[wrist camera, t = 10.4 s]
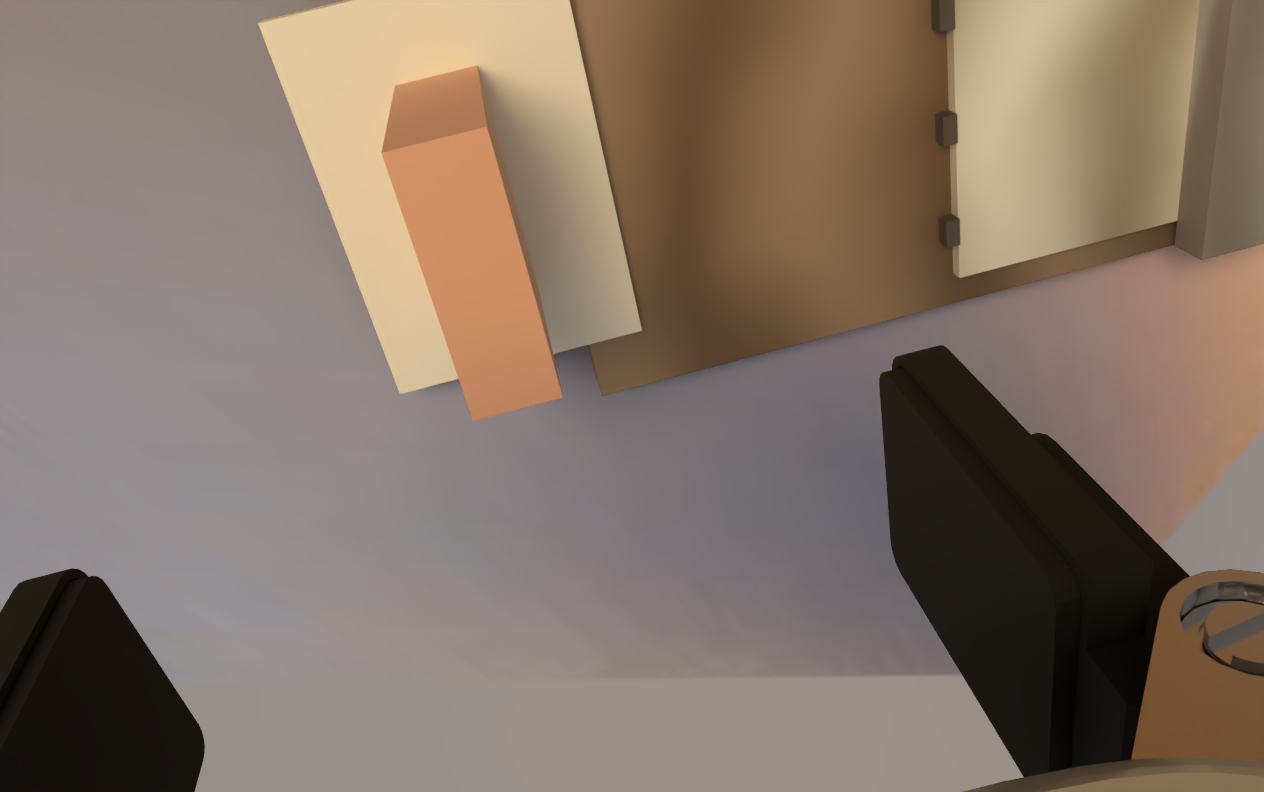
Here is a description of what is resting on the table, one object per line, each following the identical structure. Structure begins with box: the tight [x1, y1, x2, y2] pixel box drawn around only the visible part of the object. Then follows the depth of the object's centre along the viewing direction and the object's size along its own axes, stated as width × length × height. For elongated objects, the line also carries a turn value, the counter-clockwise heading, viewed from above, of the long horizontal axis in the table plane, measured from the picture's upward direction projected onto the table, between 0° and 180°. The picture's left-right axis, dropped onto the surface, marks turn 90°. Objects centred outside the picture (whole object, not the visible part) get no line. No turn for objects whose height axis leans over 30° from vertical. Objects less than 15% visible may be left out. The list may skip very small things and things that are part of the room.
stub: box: [258, 0, 642, 421], centre depth 22 cm, size 7×10×6 cm
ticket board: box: [569, 0, 1264, 396], centre depth 25 cm, size 24×14×3 cm, turn 102°
